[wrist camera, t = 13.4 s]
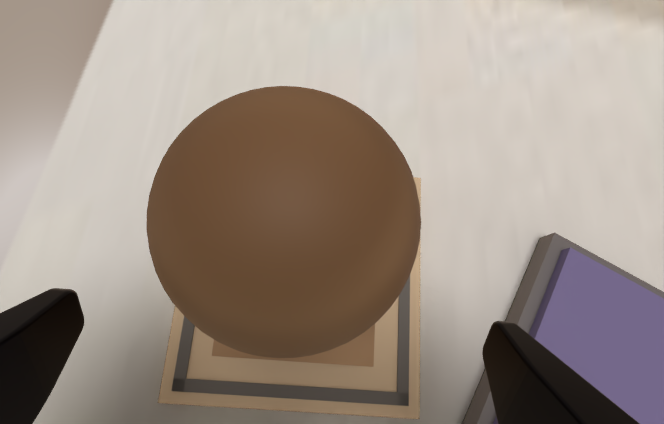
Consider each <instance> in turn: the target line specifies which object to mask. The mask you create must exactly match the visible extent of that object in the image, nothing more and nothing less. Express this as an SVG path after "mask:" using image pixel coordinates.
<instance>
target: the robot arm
mask: <svg viewBox="0 0 664 424" xmlns="http://www.w3.org/2000/svg"><path fill="white" fill-rule="evenodd" d="M83 326H84V316H83V312H82V309H81V306H80V302H79V299H78V296H77V293H76V292H75V291H74V290H71V289H59V288H54V289H50V290H48V291H45V292H43V293H41V294H39V295H37V296H35V297H33V298H31V299H29V300H27V301H25V302H23V303H21V304H19V305H17V306H15V307H12V308H10V309H8V310H6V311H4V312H2V313H0V424H32V423H33V422H34V420H35V419H36V417H37V415H38V414H39V412H40V411H41V409H42V407H43V405H44V404H45V402H46V400H47V399H48V397H49V395H50V393H51V391H52V389H53V388H54V386H55V384H56V382H57V380H58V378H59V376H60V374H61V372H62V370H63V368H64V366H65V364H66V362H67V360H68V358H69V356H70V354H71V352H72V349H73V347H74V345H75V343H76V341H77V339H78V337H79V335H80V333H81V331H82V329H83ZM483 360H484V364H485V369H486V373H487V378H488V382H489V386H490V391H491V395H492V400H493V404H494V408H495V413H496V417H497V421H498V424H640V423H638V422H637V421H636V420H635V419H633V418H632V417H631V416H630V415H629V414H627V413H626V412H625V411H624V410H622V409H621V408H620V407H619V406H617V405H616V404H615V403H614V402H612V401H611V400H610V399H609V398H607V397H606V396H605V395H604V394H603V393H601V392H600V391H599V390H598V389H596V388H595V387H594V386H593V385H591V384H590V383H589V382H588V381H586V380H585V379H584V378H583V377H581V376H580V375H579V374H578V373H576V372H575V371H574V370H573V369H572V368H570V367H569V366H568V365H567V364H565V363H564V362H563V361H562V360H560V359H559V358H558V357H557V356H555V355H554V354H553V353H552V352H550V351H549V350H548V349H547V348H546V347H544V346H543V345H542V344H541V343H539V342H538V341H537V340H536V339H534V338H533V337H532V336H531V335H529V334H528V333H527V332H526V331H524V330H523V329H522V328H521V327H519V326H518V325H517V324H515V323H513V322H505V321H496V322H494V323H493V324H492V326H491V329H490V331H489V334H488V336H487V339H486V341H485V344H484V346H483Z"/></svg>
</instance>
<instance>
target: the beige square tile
mask: <svg viewBox="0 0 664 424" xmlns="http://www.w3.org/2000/svg"><path fill="white" fill-rule="evenodd" d="M413 178H414V177H413ZM414 181H415V184H416V189H417V194H418V199H419V204H420V198H421V178H414ZM213 343H214V339H213V338H211V337H209V336H208V335H206V334H205V333H203V332H202V331H201V330H199V329H198V328H197V327H196V326H195V325H194V324H192V323H191V322H190V321H189V320H188V319H187V318H186V317H185V316H184V315H183V314H182V313H181V311H180V310H179V309H178V308H177V307H176V306H175V309H174V314H173V320H172V326H171V331H170V337H169V342H168V348H167V354H166V359H165V365H164V371H163V376H162V382H161V387H160V393H159V399H158V403H166V404H182V405H198V406H214V407H230V408H246V409H262V410H279V411H295V412H311V413H327V414H343V415H359V416H376V417H392V418H408V419H419V414H420V241H419V246H418V251H417V255H416V259H415V262H414V265H413V267H412V270H411V273H410V276H409V278H408V280H407V282H406V284H405V286H404V288H403V290H402V291H401V293H400V295H399V296H398V298H397V299H396V300H395V302H394V303H393V305H392V306H391V307H390V309H389V310H388V311H387V312H386V313H385V314H384V315H383V316H382V317H381V318H380V319H379V320H378V321H377V322H376V323H375V339H374V366H373V367H367V366H352V365H337V364H323V363H308V362H293V361H278V360H263V359H249V358H234V357H219V356H212V349H213Z"/></svg>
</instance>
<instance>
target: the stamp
mask: <svg viewBox="0 0 664 424" xmlns="http://www.w3.org/2000/svg"><path fill="white" fill-rule="evenodd" d="M420 229H421V216H420V204H419V199H418V194H417V189H416V184H415V181H414V178H413V175H412V172H411V170H410V168H409V166H408V164H407V161H406V159H405V157H404V155H403V154H402V152H401V151H400V149H399V148H398V146H397V145H396V143H395V142H394V141H393V139H392V138H391V137H390V136H389V135H388V133H387V132H386V131H385V130H384V129H383V128H382V126H380V125H379V124H378V123H377V122H376V121H375V120H374V119H373V118H372V117H371V116H369V115H368V114H367V113H365V112H364V111H362V110H361V109H360V108H358V107H357V106H355V105H353V104H351V103H349V102H347V101H346V100H344V99H341V98H339V97H336V96H334V95H331V94H329V93H325V92H322V91H318V90H314V89H308V88H302V87H290V86H277V87H265V88H260V89H255V90H250V91H247V92H244V93H240V94H237V95H235V96H232V97H230V98H228V99H226V100H223V101H221V102H219V103H217V104H216V105H214V106H212V107H211V108H209V109H207V110H206V111H204V112H203V113H202V114H201V115H199V116H198V117H197V118H195V119H194V120H193V121H192V122H191V123H190V124H189V125H188V126H187V127H186V128H185V129H184V130H183V131H182V132H181V133H180V134H179V135H178V137H177V138H176V139H175V140H174V142H173V143H172V144H171V146H170V147H169V149H168V151H167V152H166V154H165V156H164V157H163V159H162V161H161V163H160V166H159V168H158V170H157V173H156V175H155V178H154V181H153V184H152V188H151V191H150V195H149V201H148V208H147V235H148V242H149V249H150V254H151V257H152V261H153V264H154V267H155V271H156V273H157V275H158V277H159V280H160V282H161V284H162V286H163V288H164V290H165V291H166V293H167V294H168V296H169V297H170V299H171V301H172V302H173V303H174V305H175V306H176V307H177V308H178V309H179V310H180V311H181V313H182V314H183V315H184V316H185V317H186V318H187V319H188V320H189V321H190V322H191V323H192V324H194V325H195V326H196V327H197V328H198V329H199V330H201V331H202V332H203V333H205V334H206V335H208V336H209V337H211V338H213V339H214V343H213V349H212V356H219V357H234V358H249V359H263V360H278V361H293V362H308V363H323V364H337V365H352V366H367V367H373V366H374V339H375V323H376V322H377V321H378V320H379V319H380V318H381V317H382V316H383V315H384V314H385V313H386V312H387V311H388V310H389V309H390V307H391V306H392V305H393V303H394V302H395V300H396V299H397V298H398V296H399V295H400V293H401V291H402V290H403V288H404V286H405V284H406V282H407V280H408V278H409V276H410V273H411V270H412V267H413V265H414V262H415V259H416V255H417V251H418V246H419V241H420Z"/></svg>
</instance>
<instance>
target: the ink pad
mask: <svg viewBox="0 0 664 424" xmlns="http://www.w3.org/2000/svg"><path fill="white" fill-rule="evenodd" d="M505 322H513V323H515V324H517V325H518V326H519V327H521V328H522V329H523V330H524V331H526V332H527V333H528V334H529V335H531V336H532V337H533V338H534V339H536V340H537V341H538V342H539V343H541V344H542V345H543V346H544V347H546V348H547V349H548V350H549V351H550V352H552V353H553V354H554V355H555V356H557V357H558V358H559V359H560V360H562V361H563V362H564V363H565V364H567V365H568V366H569V367H570V368H572V369H573V370H574V371H575V372H576V373H578V374H579V375H580V376H581V377H583V378H584V379H585V380H586V381H588V382H589V383H590V384H591V385H593V386H594V387H595V388H596V389H598V390H599V391H600V392H601V393H603V394H604V395H605V396H606V397H607V398H609V399H610V400H611V401H612V402H614V403H615V404H616V405H617V406H619V407H620V408H621V409H622V410H624V411H625V412H626V413H627V414H629V415H630V416H631V417H632V418H633V419H635V420H636V421H637V422H638V423H640V424H664V292H662V291H661V290H659V289H657V288H655V287H653V286H651V285H650V284H648V283H646V282H644V281H642V280H640V279H639V278H637V277H635V276H633V275H631V274H629V273H628V272H626V271H624V270H622V269H620V268H618V267H617V266H615V265H613V264H611V263H609V262H607V261H606V260H604V259H602V258H600V257H598V256H596V255H595V254H593V253H591V252H589V251H587V250H585V249H584V248H582V247H580V246H578V245H576V244H574V243H573V242H571V241H569V240H567V239H565V238H563V237H562V236H560V235H558V234H556V233H553V234H550V235H547V236H544V237H541V238H540V239H539V242H538V244H537V246H536V249H535V251H534V254H533V256H532V258H531V261H530V263H529V266H528V268H527V270H526V273H525V275H524V278H523V280H522V282H521V285H520V287H519V290H518V292H517V294H516V297H515V299H514V301H513V304H512V306H511V309H510V311H509V313H508V316H507V318H506V321H505ZM462 424H498V421H497V417H496V413H495V408H494V404H493V400H492V395H491V391H490V386H489V382H488V378H487V373H486V369H485V371H484V373H483V376H482V378H481V380H480V383H479V385H478V388H477V390H476V392H475V395H474V397H473V400H472V402H471V404H470V407H469V409H468V411H467V414H466V416H465V419H464V421H463V423H462Z"/></svg>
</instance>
